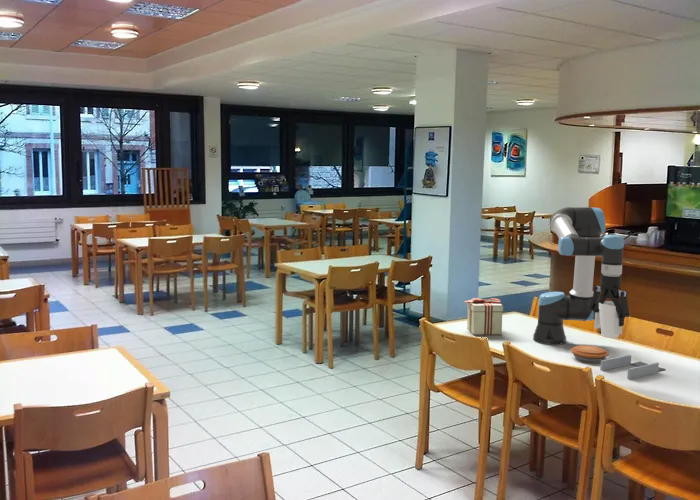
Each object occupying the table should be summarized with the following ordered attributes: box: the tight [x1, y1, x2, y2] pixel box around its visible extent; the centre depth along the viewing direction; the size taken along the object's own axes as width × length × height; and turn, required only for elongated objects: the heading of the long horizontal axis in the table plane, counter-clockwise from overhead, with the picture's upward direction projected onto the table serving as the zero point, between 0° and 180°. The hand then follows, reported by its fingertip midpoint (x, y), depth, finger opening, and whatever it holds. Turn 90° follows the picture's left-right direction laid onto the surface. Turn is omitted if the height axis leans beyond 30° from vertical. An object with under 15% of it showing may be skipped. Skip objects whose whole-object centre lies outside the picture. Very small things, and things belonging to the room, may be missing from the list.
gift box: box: [463, 297, 504, 336], centre depth 329 cm, size 17×18×17 cm
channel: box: [600, 354, 659, 380], centre depth 266 cm, size 14×18×4 cm
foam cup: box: [599, 300, 620, 339], centre depth 257 cm, size 10×9×13 cm
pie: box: [570, 344, 610, 364], centre depth 283 cm, size 15×16×5 cm
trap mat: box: [630, 361, 666, 373], centre depth 272 cm, size 12×6×1 cm, turn 30°
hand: (607, 331), depth 256 cm, fingers closed on foam cup, 9 cm apart
